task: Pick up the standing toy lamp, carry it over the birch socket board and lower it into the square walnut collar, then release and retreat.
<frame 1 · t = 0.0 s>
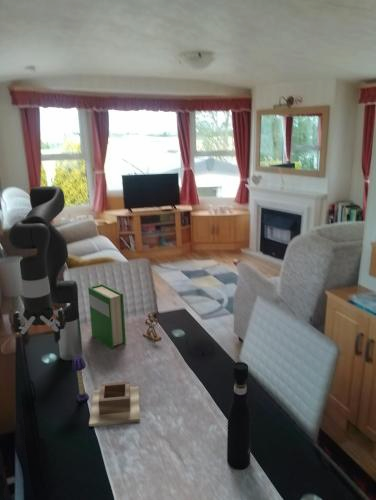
hand: (42, 342, 118), 29 cm above the table, fingers open, 8 cm apart
openwork figure ornament: (152, 337, 184), on the table
wine bottle: (238, 461, 111), on the table
toy lamp: (81, 399, 139), on the table
socket board: (115, 406, 135), on the table
hardback book: (108, 339, 182), on the table
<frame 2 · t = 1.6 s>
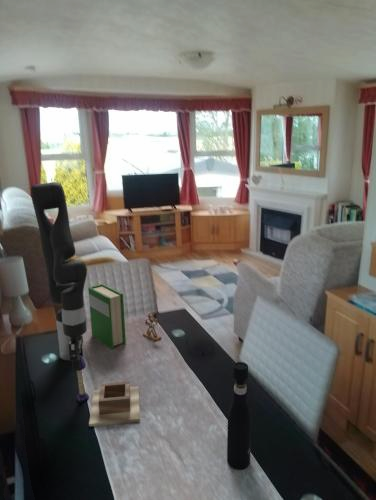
hand: (77, 363, 135), 14 cm above the table, fingers open, 8 cm apart
nothing on the table moved.
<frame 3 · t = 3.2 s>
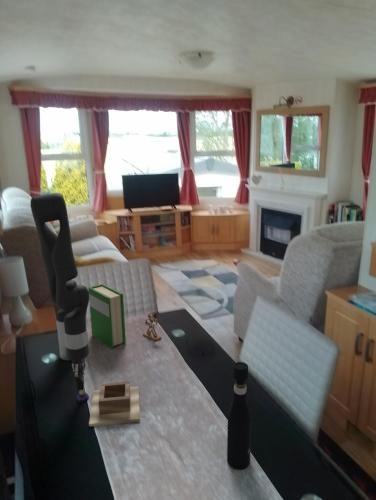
hand: (80, 387, 138), 5 cm above the table, fingers closed on toy lamp
toy lamp: (81, 399, 139), on the table, touching gripper
everything else where it was.
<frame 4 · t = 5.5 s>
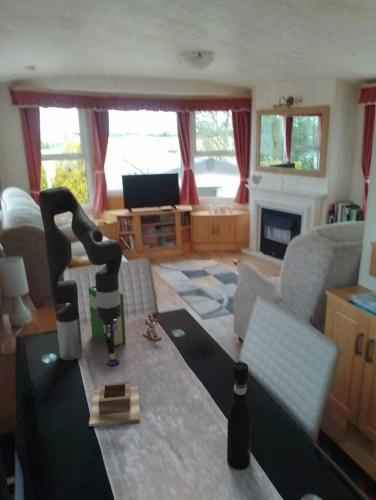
hand: (111, 351, 130), 21 cm above the table, fingers closed on toy lamp
toy lamp: (112, 364, 131), point 16 cm above the table, touching gripper
everything else where it was.
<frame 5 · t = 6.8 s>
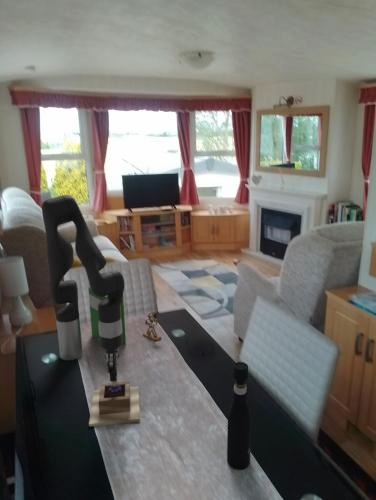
hand: (113, 378, 132), 11 cm above the table, fingers closed on toy lamp
toy lamp: (114, 391, 133), point 6 cm above the table, touching gripper
everything else where it was.
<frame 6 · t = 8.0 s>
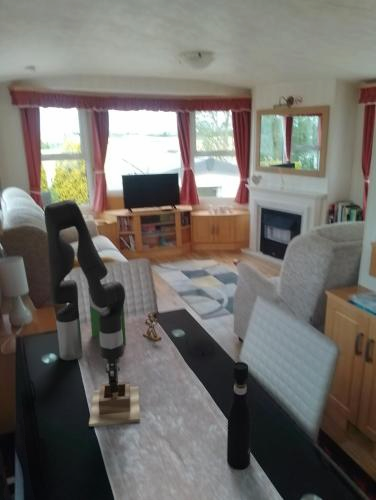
hand: (114, 387, 133), 7 cm above the table, fingers open, 4 cm apart
toy lamp: (115, 404, 135), point 1 cm above the table, touching socket board
everything else where it was.
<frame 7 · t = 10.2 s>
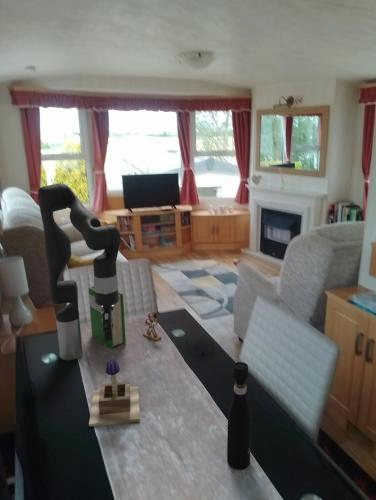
hand: (109, 334, 130), 26 cm above the table, fingers open, 8 cm apart
nothing on the table moved.
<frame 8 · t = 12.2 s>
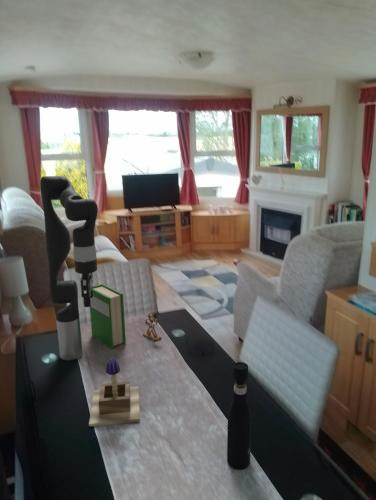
hand: (88, 302, 139), 33 cm above the table, fingers open, 8 cm apart
nothing on the table moved.
at the end: toy lamp 0.1 cm off-centre on the socket board, point 0.8 cm above the socket board's base; toy lamp tilted 1°; the gripper is holding nothing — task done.
